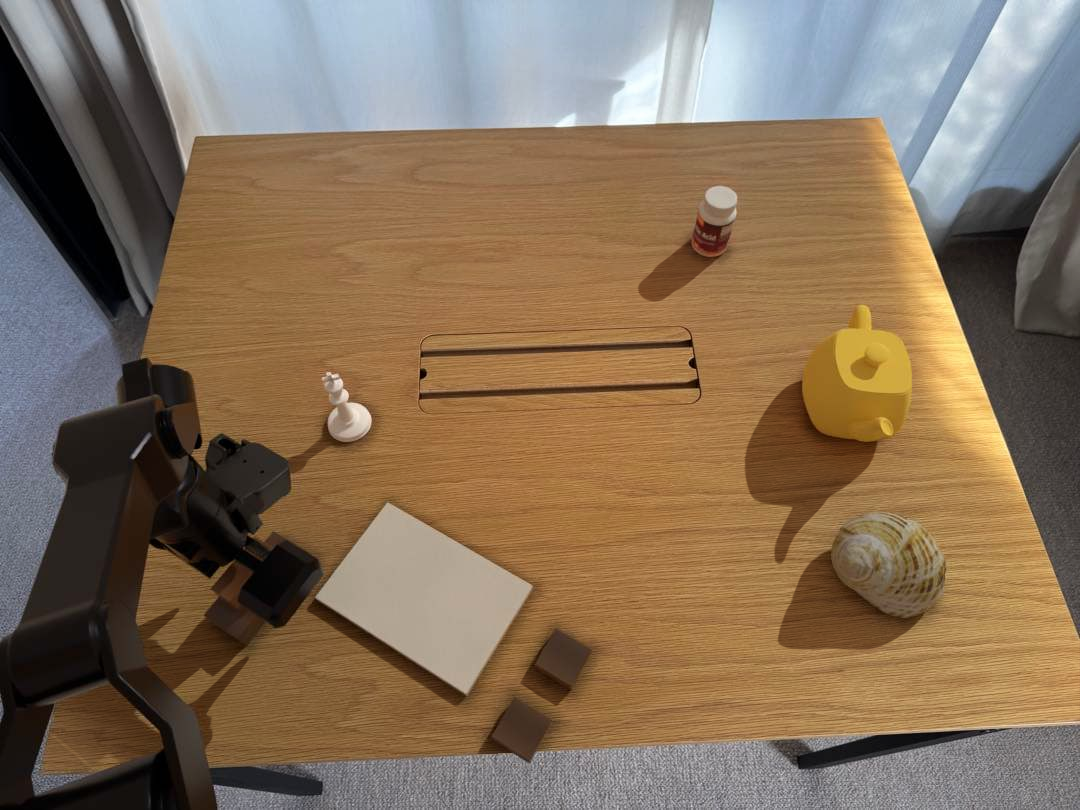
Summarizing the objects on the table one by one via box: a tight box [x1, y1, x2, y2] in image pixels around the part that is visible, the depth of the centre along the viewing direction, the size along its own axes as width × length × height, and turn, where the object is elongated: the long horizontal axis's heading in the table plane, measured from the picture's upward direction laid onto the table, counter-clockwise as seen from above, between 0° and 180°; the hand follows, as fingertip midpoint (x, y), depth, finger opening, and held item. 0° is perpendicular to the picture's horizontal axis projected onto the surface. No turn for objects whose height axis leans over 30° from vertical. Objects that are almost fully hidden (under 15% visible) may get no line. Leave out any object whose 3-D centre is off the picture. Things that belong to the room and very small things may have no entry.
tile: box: [314, 501, 534, 697], centre depth 76 cm, size 12×18×1 cm, turn 59°
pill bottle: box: [691, 185, 738, 258], centre depth 98 cm, size 5×5×8 cm
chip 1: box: [491, 696, 553, 764], centre depth 69 cm, size 4×4×2 cm
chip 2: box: [534, 627, 593, 691], centre depth 73 cm, size 4×4×2 cm
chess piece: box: [321, 371, 373, 443], centre depth 83 cm, size 5×5×10 cm
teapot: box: [801, 304, 913, 443], centre depth 83 cm, size 18×11×11 cm, turn 174°
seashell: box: [830, 511, 947, 619], centre depth 75 cm, size 10×10×10 cm
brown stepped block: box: [203, 530, 308, 647], centre depth 74 cm, size 10×4×7 cm, turn 149°
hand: (249, 575), depth 73 cm, fingers open, 9 cm apart
